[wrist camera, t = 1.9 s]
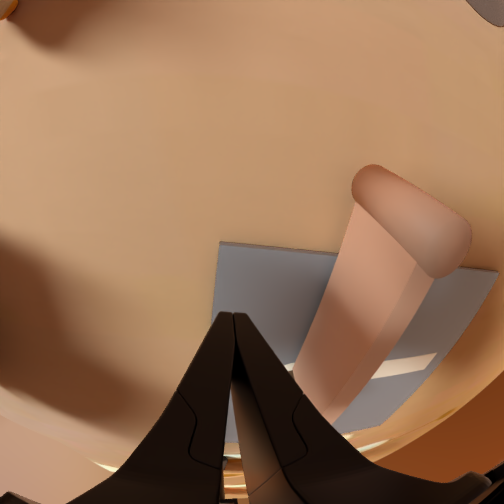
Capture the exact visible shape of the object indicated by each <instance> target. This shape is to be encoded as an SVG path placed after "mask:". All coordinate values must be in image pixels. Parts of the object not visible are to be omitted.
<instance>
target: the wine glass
mask: <svg viewBox="0 0 504 504" xmlns="http://www.w3.org/2000/svg"><path fill="white" fill-rule="evenodd" d="M467 1H468V3H469V4H470V5H471V6H472V7H473V8H474V9H475V10H476V11H477V12H478V13H479V14H480V15H481V16H482V17H483V18H485V19H486V20H487V21H488V22H490V23H492V24H493V25H496V26H504V0H467Z"/></svg>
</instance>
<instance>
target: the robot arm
mask: <svg viewBox="0 0 504 504" xmlns="http://www.w3.org/2000/svg"><path fill="white" fill-rule="evenodd" d="M230 390H231V396H232V403H233V410H234V416H235V423H236V429H237V435H238V442H239V448H240V454H241V460H242V465H243V471H244V476H245V482H246V487H247V493H248V496H249V497H248V498H249V503H250V504H504V461H503V462H501V463H500V464H498V465H497V466H495V467H494V468H492V469H490V470H489V471H487V472H486V473H484V474H479V473H476V472H472V471H470V472H467V473H465V474H463V475H461V476H459V477H458V478H456V479H454V480H452V481H450V482H448V483H439V482H433V481H429V480H424V479H421V478H417V477H413V476H409V475H406V474H402V473H399V472H396V471H392V470H389V469H386V468H383V467H380V466H378V465H376V464H374V463H373V462H371V461H369V460H368V459H367V458H365V457H364V456H363V455H362V454H361V453H360V452H359V451H358V450H356V449H355V448H354V447H353V446H352V445H351V444H350V443H349V442H348V441H347V440H346V439H345V438H344V437H343V436H342V435H341V434H340V433H339V432H338V431H337V430H336V429H335V428H334V427H333V426H332V425H331V424H330V423H329V422H328V421H327V420H326V419H325V418H324V417H323V416H322V415H321V413H320V412H319V411H318V410H317V408H316V407H315V406H314V405H313V404H312V402H311V401H310V400H309V398H308V397H307V396H306V394H303V390H302V389H301V388H300V387H299V385H298V384H297V382H296V381H295V380H294V378H293V377H292V376H291V374H290V373H289V372H288V370H287V369H286V368H285V366H284V365H283V364H282V362H281V361H280V359H279V358H278V357H277V355H276V354H275V353H274V351H273V350H272V348H271V347H270V346H269V344H268V343H267V341H266V340H265V339H264V337H263V336H262V334H261V333H260V332H259V330H258V329H257V327H256V326H255V324H254V323H253V322H252V320H251V319H250V317H249V316H248V315H247V314H246V313H241V312H234V313H233V314H232V312H227V311H220V312H218V314H217V316H216V318H215V320H214V321H213V323H212V325H211V327H210V329H209V331H208V332H207V334H206V336H205V338H204V340H203V342H202V343H201V345H200V347H199V349H198V351H197V352H196V354H195V356H194V358H193V360H192V362H191V363H190V365H189V367H188V369H187V371H186V373H185V374H184V376H183V378H182V380H181V382H180V384H179V385H178V387H177V389H176V391H175V392H174V394H173V396H172V398H171V400H170V401H169V403H168V405H167V406H166V408H165V410H164V411H163V413H162V415H161V416H160V418H159V419H158V420H157V422H156V423H155V425H154V426H153V427H152V429H151V430H150V431H149V433H148V434H147V435H146V437H145V438H144V439H143V440H142V442H141V443H140V444H139V445H138V447H137V448H136V449H135V450H134V452H133V453H132V454H131V456H130V457H129V458H128V459H127V460H126V462H125V463H124V464H123V465H122V466H121V467H120V468H119V469H118V470H117V471H116V472H115V473H114V474H113V475H112V476H110V477H109V478H107V479H106V480H104V481H103V482H101V483H100V484H98V485H96V486H95V487H94V488H92V489H90V490H88V491H87V492H85V493H84V494H82V495H80V496H79V497H77V498H75V499H73V500H72V501H70V502H68V503H66V504H238V502H237V498H233V499H225V493H224V476H223V470H224V469H225V466H226V464H227V461H228V460H227V458H226V457H223V454H224V445H225V436H226V426H227V417H228V408H229V399H230ZM0 504H40V503H37V502H35V501H32V500H30V499H27V498H25V497H23V496H20V495H18V494H15V493H13V492H6V493H5V494H4V495H3V496H2V497H0Z"/></svg>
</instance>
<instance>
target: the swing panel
mask: <svg viewBox="0 0 504 504" xmlns="http://www.w3.org/2000/svg"><path fill="white" fill-rule="evenodd" d="M352 195H353V198H354V200H355V205H354V208H353V211H352V214H351V218H350V221H349V224H348V227H347V230H346V233H345V236H344V239H343V242H342V245H341V248H340V251H339V254H338V257H337V260H336V262H335V265H334V268H333V271H332V273H331V276H330V279H329V282H328V284H327V287H326V289H325V292H324V295H323V297H322V300H321V302H320V305H319V307H318V310H317V312H316V315H315V317H314V320H313V322H312V325H311V327H310V329H309V332H308V334H307V336H306V339H305V341H304V343H303V346H302V348H301V350H300V353H299V355H298V357H297V359H296V361H295V364H294V366H293V368H292V370H293V374H294V379H295V381H296V382H297V384H298V385H299V387H300V388H301V389H302V390H303V394H306V396H307V397H308V398H309V400H310V401H311V402H312V404H313V405H314V406H315V407H316V408H317V410H318V411H319V412H320V413H321V415H322V416H323V417H324V418H325V419H326V420H327V421H328V422H329V423H330V424H331V425H332V424H333V423H334V422H335V420H336V419H337V418H338V417H339V416H340V415H341V414H342V413H343V412H344V410H345V409H346V408H347V407H348V406H349V405H350V404H351V402H352V401H353V400H354V399H355V398H356V396H357V395H358V394H359V393H360V392H361V390H362V389H363V388H364V387H365V385H366V384H367V383H368V382H369V380H370V379H371V378H372V376H373V375H374V374H375V373H376V371H377V370H378V369H379V367H380V366H381V364H382V363H383V362H384V360H385V359H386V358H387V356H388V355H389V353H390V352H391V350H392V349H393V347H394V346H395V345H396V343H397V342H398V340H399V339H400V337H401V336H402V334H403V332H404V331H405V329H406V328H407V326H408V325H409V323H410V321H411V320H412V318H413V316H414V315H415V313H416V311H417V310H418V308H419V306H420V305H421V303H422V301H423V299H424V297H425V296H426V294H427V292H428V290H429V288H430V287H431V285H432V283H433V281H434V279H439V278H443V277H445V276H447V275H449V274H451V273H452V272H453V271H454V270H456V269H457V268H458V267H459V265H460V264H461V263H462V262H463V260H464V259H465V257H466V255H467V253H468V251H469V248H470V245H471V240H472V230H471V226H470V224H469V223H468V221H467V220H465V219H464V218H463V217H461V216H460V215H458V214H457V213H456V212H454V211H453V210H451V209H450V208H448V207H447V206H446V205H444V204H443V203H441V202H440V201H438V200H437V199H435V198H434V197H432V196H430V195H429V194H427V193H426V192H424V191H423V190H421V189H419V188H418V187H416V186H415V185H413V184H411V183H410V182H408V181H406V180H405V179H403V178H401V177H399V176H398V175H396V174H394V173H392V172H391V171H389V170H387V169H385V168H383V167H382V166H379V165H368V166H365V167H363V168H362V169H361V170H360V171H359V172H358V173H357V174H356V176H355V177H354V179H353V182H352Z"/></svg>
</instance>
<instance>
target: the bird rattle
mask: <svg viewBox="0 0 504 504" xmlns="http://www.w3.org/2000/svg"><path fill="white" fill-rule="evenodd" d="M17 5H18V0H0V20H3V19H5V18H7V17H8V16H9V15H10V14H11V13H12V12H13V11H14V9H15V8H16V7H17Z"/></svg>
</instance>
